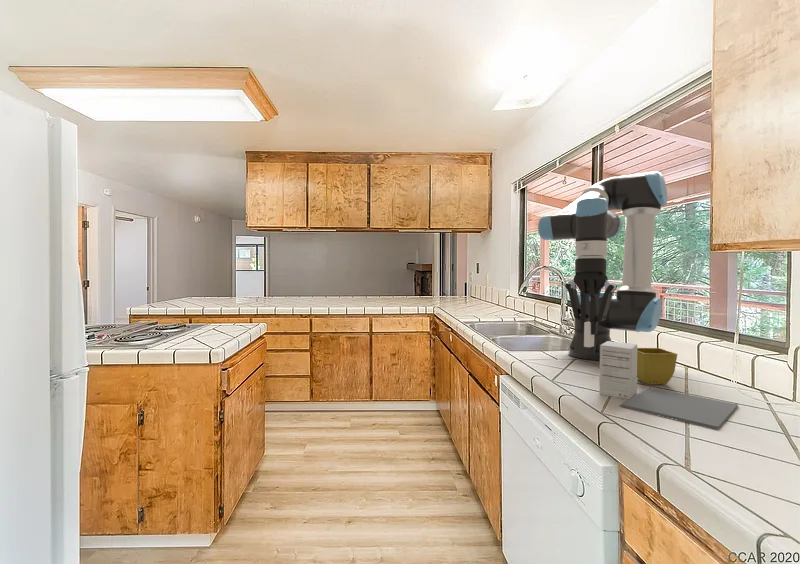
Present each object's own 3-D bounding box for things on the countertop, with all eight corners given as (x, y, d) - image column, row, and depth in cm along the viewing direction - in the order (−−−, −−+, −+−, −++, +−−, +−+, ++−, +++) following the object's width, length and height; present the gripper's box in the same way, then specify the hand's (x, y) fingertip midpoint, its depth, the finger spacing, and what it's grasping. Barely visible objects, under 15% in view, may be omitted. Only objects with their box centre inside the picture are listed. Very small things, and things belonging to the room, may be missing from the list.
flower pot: (627, 377, 119) (628, 347, 118) (658, 378, 118) (659, 347, 118) (643, 386, 110) (644, 353, 110) (677, 387, 109) (678, 353, 109)
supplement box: (606, 387, 109) (606, 340, 109) (637, 393, 104) (638, 343, 104) (598, 394, 103) (599, 344, 103) (631, 400, 99) (632, 348, 98)
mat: (649, 389, 107) (650, 387, 107) (737, 406, 94) (738, 404, 94) (620, 406, 94) (620, 404, 94) (718, 429, 80) (718, 426, 80)
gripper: (560, 257, 110) (558, 344, 111) (610, 256, 101) (608, 352, 101) (573, 258, 115) (571, 341, 116) (622, 257, 106) (620, 348, 106)
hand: (589, 346), depth 109 cm, fingers closed
